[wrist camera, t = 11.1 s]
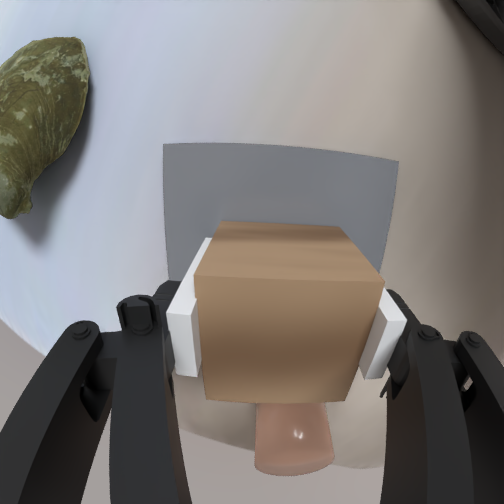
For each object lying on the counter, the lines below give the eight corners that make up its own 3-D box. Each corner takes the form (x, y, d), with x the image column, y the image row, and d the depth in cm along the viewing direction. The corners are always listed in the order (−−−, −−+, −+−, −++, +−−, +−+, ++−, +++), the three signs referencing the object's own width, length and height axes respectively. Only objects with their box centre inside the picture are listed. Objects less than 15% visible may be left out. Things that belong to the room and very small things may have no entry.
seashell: (86, 8, 8) (-26, 142, 5) (127, 89, 15) (74, 221, 12) (-7, 68, 9) (-76, 184, 6) (36, 120, 16) (-10, 226, 13)
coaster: (168, 143, 13) (163, 144, 12) (392, 160, 13) (398, 161, 12) (179, 332, 18) (176, 340, 17) (354, 339, 18) (357, 347, 17)
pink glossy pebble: (258, 364, 19) (257, 448, 12) (326, 365, 19) (344, 444, 12) (255, 403, 21) (252, 475, 14) (313, 404, 20) (323, 473, 14)
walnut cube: (221, 221, 14) (193, 275, 8) (339, 226, 14) (385, 281, 8) (222, 320, 16) (206, 399, 10) (322, 323, 16) (344, 401, 10)
